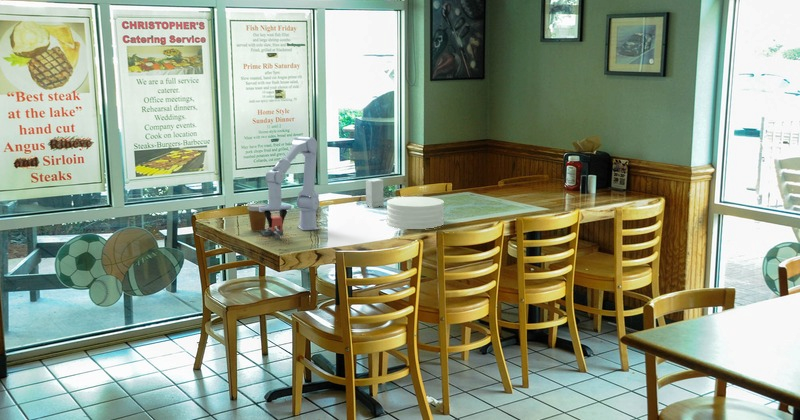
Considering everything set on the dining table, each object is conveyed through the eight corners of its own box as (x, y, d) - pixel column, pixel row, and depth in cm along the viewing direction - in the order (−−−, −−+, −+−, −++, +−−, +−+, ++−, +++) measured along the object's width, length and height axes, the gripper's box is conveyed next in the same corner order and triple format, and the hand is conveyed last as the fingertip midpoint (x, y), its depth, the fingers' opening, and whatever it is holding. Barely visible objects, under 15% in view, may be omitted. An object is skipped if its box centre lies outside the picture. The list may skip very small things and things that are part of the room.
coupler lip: (261, 233, 390) (260, 227, 390) (280, 231, 394) (279, 226, 393) (268, 240, 377) (268, 233, 376) (288, 238, 380) (287, 232, 379)
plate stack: (450, 220, 422) (451, 198, 420) (433, 231, 396) (434, 208, 394) (398, 217, 431) (398, 195, 429) (378, 227, 405) (378, 204, 403)
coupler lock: (269, 228, 384) (268, 215, 383) (278, 227, 386) (278, 215, 384) (272, 231, 378) (272, 218, 376) (282, 230, 379) (282, 217, 378)
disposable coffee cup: (253, 232, 392) (252, 207, 389) (244, 229, 399) (243, 204, 397) (271, 230, 397) (271, 205, 395) (262, 227, 405) (261, 202, 402)
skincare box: (377, 204, 465) (377, 178, 462) (384, 206, 460) (384, 179, 457) (365, 206, 459) (365, 179, 457) (371, 208, 455) (371, 181, 452)
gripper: (261, 199, 373) (261, 229, 375) (292, 197, 378) (293, 227, 380) (257, 196, 379) (258, 226, 381) (288, 195, 384) (289, 224, 387)
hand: (275, 226), depth 381 cm, fingers closed on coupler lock, 5 cm apart
